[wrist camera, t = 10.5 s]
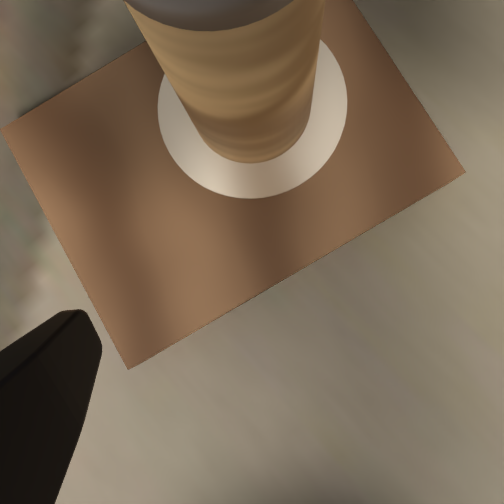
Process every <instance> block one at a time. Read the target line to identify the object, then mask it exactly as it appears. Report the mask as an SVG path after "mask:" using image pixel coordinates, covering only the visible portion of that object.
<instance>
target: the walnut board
mask: <svg viewBox="0 0 504 504" xmlns="http://www.w3.org/2000/svg"><path fill="white" fill-rule="evenodd" d="M0 130H1V132H2V134H3V136H4V138H5V140H6V142H7V144H8V146H9V147H10V149H11V151H12V153H13V155H14V157H15V159H16V161H17V162H18V164H19V166H20V168H21V170H22V172H23V174H24V176H25V177H26V179H27V181H28V183H29V185H30V187H31V189H32V191H33V192H34V194H35V196H36V198H37V200H38V202H39V204H40V206H41V208H42V209H43V211H44V213H45V215H46V217H47V219H48V221H49V223H50V224H51V226H52V228H53V230H54V232H55V234H56V236H57V238H58V239H59V241H60V243H61V245H62V247H63V249H64V251H65V253H66V254H67V256H68V258H69V260H70V262H71V264H72V266H73V268H74V270H75V271H76V273H77V275H78V277H79V279H80V281H81V283H82V285H83V286H84V288H85V290H86V292H87V294H88V296H89V298H90V300H91V301H92V303H93V305H94V307H95V309H96V311H97V313H98V315H99V317H100V318H101V320H102V322H103V324H104V326H105V328H106V330H107V332H108V333H109V335H110V337H111V339H112V341H113V343H114V345H115V347H116V348H117V350H118V352H119V354H120V356H121V358H122V360H123V362H124V363H125V365H126V367H127V369H128V370H129V369H131V368H133V367H135V366H137V365H138V364H140V363H142V362H144V361H145V360H147V359H149V358H151V357H152V356H154V355H156V354H157V353H159V352H161V351H163V350H164V349H166V348H168V347H169V346H171V345H173V344H175V343H176V342H178V341H180V340H181V339H183V338H185V337H187V336H188V335H190V334H192V333H193V332H195V331H197V330H198V329H200V328H202V327H204V326H205V325H207V324H209V323H210V322H212V321H214V320H216V319H217V318H219V317H221V316H222V315H224V314H226V313H228V312H229V311H231V310H233V309H234V308H236V307H238V306H240V305H241V304H243V303H245V302H246V301H248V300H250V299H251V298H253V297H255V296H257V295H258V294H260V293H262V292H263V291H265V290H267V289H269V288H270V287H272V286H274V285H275V284H277V283H279V282H281V281H282V280H284V279H286V278H287V277H289V276H291V275H293V274H294V273H296V272H298V271H299V270H301V269H303V268H304V267H306V266H308V265H310V264H311V263H313V262H315V261H316V260H318V259H320V258H322V257H323V256H325V255H327V254H328V253H330V252H332V251H334V250H335V249H337V248H339V247H340V246H342V245H344V244H345V243H347V242H349V241H351V240H352V239H354V238H356V237H357V236H359V235H361V234H363V233H364V232H366V231H368V230H369V229H371V228H373V227H375V226H376V225H378V224H380V223H381V222H383V221H385V220H387V219H388V218H390V217H392V216H393V215H395V214H397V213H398V212H400V211H402V210H404V209H405V208H407V207H409V206H410V205H412V204H414V203H416V202H417V201H419V200H421V199H422V198H424V197H426V196H428V195H429V194H431V193H433V192H434V191H436V190H438V189H440V188H441V187H443V186H445V185H446V184H448V183H450V182H451V181H453V180H455V179H456V178H458V177H459V176H461V175H462V174H464V173H465V170H464V169H463V167H462V166H461V164H460V162H459V161H458V159H457V158H456V156H455V155H454V153H453V152H452V150H451V149H450V147H449V146H448V144H447V143H446V141H445V140H444V138H443V137H442V135H441V134H440V132H439V131H438V129H437V128H436V126H435V125H434V123H433V121H432V120H431V118H430V117H429V115H428V114H427V112H426V111H425V109H424V108H423V106H422V105H421V103H420V102H419V100H418V99H417V97H416V96H415V94H414V93H413V91H412V90H411V88H410V87H409V85H408V83H407V82H406V80H405V79H404V77H403V76H402V74H401V73H400V71H399V70H398V68H397V67H396V65H395V64H394V62H393V61H392V59H391V58H390V56H389V55H388V53H387V52H386V50H385V49H384V47H383V46H382V44H381V42H380V41H379V39H378V38H377V36H376V35H375V33H374V32H373V30H372V29H371V27H370V26H369V24H368V23H367V21H366V20H365V18H364V17H363V15H362V14H361V12H360V11H359V9H358V8H357V6H356V4H355V3H354V1H353V0H325V7H324V15H323V22H322V30H321V37H320V45H319V52H318V60H317V67H316V75H315V82H314V89H313V97H312V104H311V112H310V117H309V120H308V123H307V126H306V128H305V130H304V132H303V134H302V135H301V137H300V138H299V140H298V141H297V142H296V143H295V144H294V145H293V146H292V147H291V148H290V149H289V150H288V151H286V152H285V153H283V154H282V155H280V156H278V157H276V158H274V159H272V160H269V161H265V162H261V163H252V164H250V163H239V162H235V161H231V160H228V159H226V158H224V157H222V156H220V155H219V154H217V153H215V152H214V151H213V150H212V149H211V148H209V147H208V145H207V144H206V143H205V142H204V141H203V139H202V138H201V136H200V135H199V133H198V131H197V129H196V128H195V126H194V124H193V122H192V121H191V119H190V117H189V115H188V114H187V112H186V110H185V108H184V106H183V105H182V103H181V101H180V99H179V98H178V96H177V94H176V92H175V91H174V89H173V87H172V85H171V84H170V82H169V80H168V78H167V76H166V75H165V73H164V71H163V69H162V68H161V66H160V64H159V62H158V61H157V59H156V57H155V55H154V54H153V52H152V50H151V48H150V46H149V45H148V43H147V41H145V42H143V43H142V44H140V45H138V46H137V47H135V48H133V49H132V50H130V51H128V52H127V53H125V54H123V55H122V56H120V57H119V58H117V59H115V60H114V61H112V62H110V63H109V64H107V65H105V66H104V67H102V68H100V69H99V70H97V71H95V72H94V73H92V74H90V75H89V76H87V77H86V78H84V79H82V80H81V81H79V82H77V83H76V84H74V85H72V86H71V87H69V88H67V89H66V90H64V91H62V92H61V93H59V94H58V95H56V96H54V97H53V98H51V99H49V100H48V101H46V102H44V103H43V104H41V105H39V106H38V107H36V108H34V109H33V110H31V111H29V112H28V113H26V114H25V115H23V116H21V117H20V118H18V119H16V120H15V121H13V122H11V123H10V124H8V125H6V126H5V127H3V128H1V129H0Z"/></svg>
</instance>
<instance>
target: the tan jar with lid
mask: <svg viewBox="0 0 504 504" xmlns="http://www.w3.org/2000/svg"><path fill="white" fill-rule="evenodd" d="M123 1H124V2H125V4H126V6H127V8H128V9H129V11H130V13H131V15H132V16H133V18H134V20H135V22H136V23H137V25H138V27H139V29H140V31H141V32H142V34H143V36H144V38H145V39H146V41H147V43H148V45H149V46H150V48H151V50H152V52H153V54H154V55H155V57H156V59H157V61H158V62H159V64H160V66H161V68H162V69H163V71H164V73H165V75H166V76H167V78H168V80H169V82H170V84H171V85H172V87H173V89H174V91H175V92H176V94H177V96H178V98H179V99H180V101H181V103H182V105H183V106H184V108H185V110H186V112H187V114H188V115H189V117H190V119H191V121H192V122H193V124H194V126H195V128H196V129H197V131H198V133H199V135H200V136H201V138H202V139H203V141H204V142H205V143H206V144H207V145H208V147H209V148H211V149H212V150H213V151H214V152H215V153H217V154H219V155H220V156H222V157H224V158H226V159H228V160H231V161H235V162H239V163H250V164H252V163H261V162H265V161H269V160H272V159H274V158H276V157H278V156H280V155H282V154H283V153H285V152H286V151H288V150H289V149H290V148H291V147H292V146H293V145H294V144H295V143H296V142H297V141H298V140H299V138H300V137H301V135H302V134H303V132H304V130H305V128H306V126H307V123H308V120H309V117H310V112H311V104H312V97H313V89H314V82H315V75H316V67H317V60H318V52H319V45H320V37H321V30H322V22H323V15H324V7H325V0H123Z"/></svg>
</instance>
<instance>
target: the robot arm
mask: <svg viewBox="0 0 504 504" xmlns="http://www.w3.org/2000/svg"><path fill="white" fill-rule="evenodd" d="M101 355H102V344H101V340H100V338H99V336H98V334H97V332H96V330H95V328H94V326H93V324H92V322H91V320H90V318H89V316H88V314H87V313H86V312H85V311H84V310H81V309H77V310H65V311H61V312H59V313H57V314H56V315H54V316H53V317H51V318H50V319H48V320H47V321H45V322H44V323H42V324H41V325H39V326H38V327H36V328H35V329H33V330H32V331H30V332H29V333H27V334H26V335H24V336H23V337H21V338H19V339H18V340H16V341H15V342H13V343H12V344H10V345H9V346H7V347H6V348H4V349H3V350H1V351H0V504H55V502H56V499H57V496H58V494H59V491H60V488H61V485H62V483H63V480H64V477H65V475H66V472H67V469H68V467H69V464H70V461H71V458H72V456H73V453H74V450H75V448H76V445H77V442H78V439H79V436H80V434H81V431H82V427H83V424H84V421H85V417H86V413H87V410H88V406H89V402H90V398H91V394H92V390H93V386H94V383H95V379H96V375H97V371H98V367H99V363H100V359H101Z"/></svg>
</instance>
